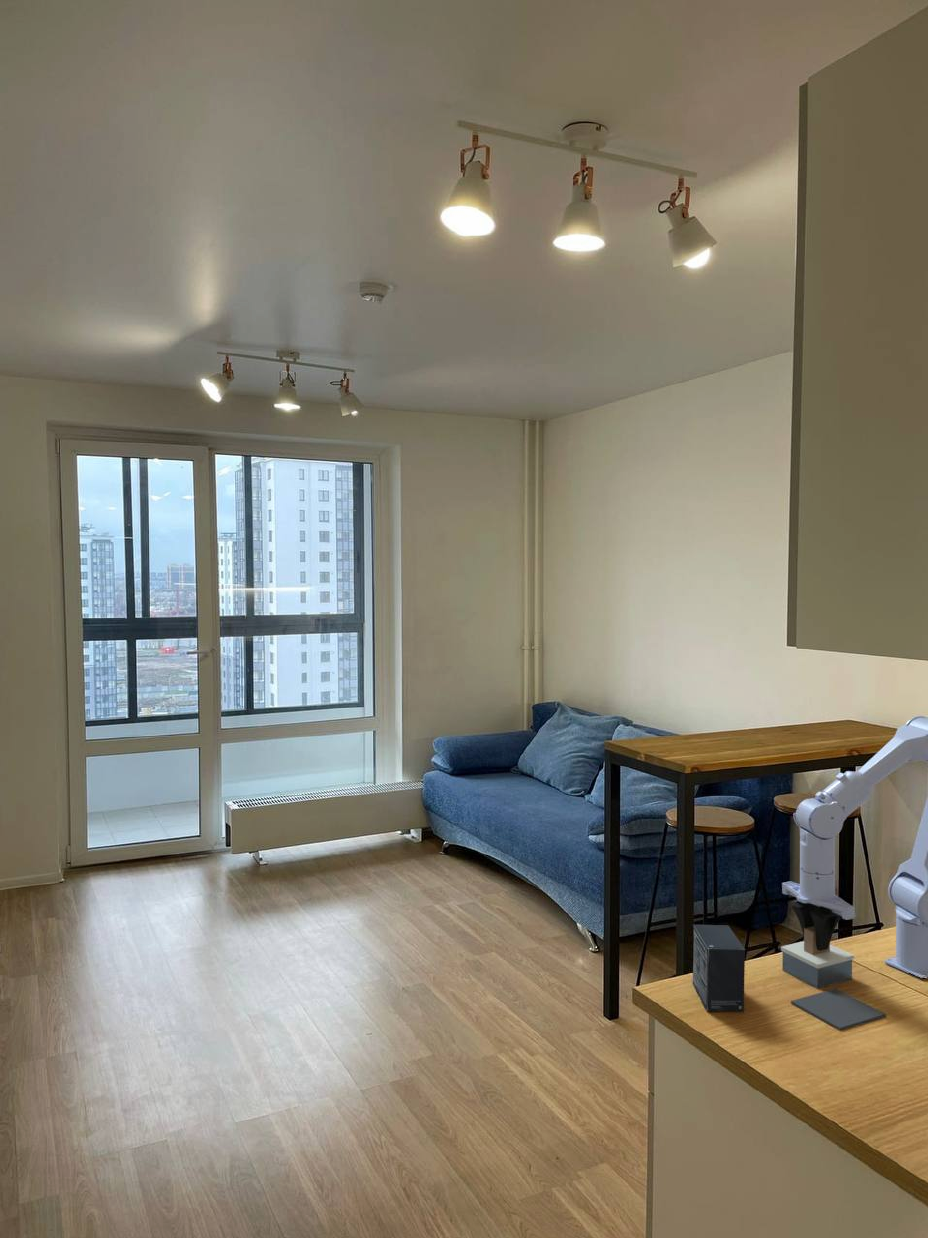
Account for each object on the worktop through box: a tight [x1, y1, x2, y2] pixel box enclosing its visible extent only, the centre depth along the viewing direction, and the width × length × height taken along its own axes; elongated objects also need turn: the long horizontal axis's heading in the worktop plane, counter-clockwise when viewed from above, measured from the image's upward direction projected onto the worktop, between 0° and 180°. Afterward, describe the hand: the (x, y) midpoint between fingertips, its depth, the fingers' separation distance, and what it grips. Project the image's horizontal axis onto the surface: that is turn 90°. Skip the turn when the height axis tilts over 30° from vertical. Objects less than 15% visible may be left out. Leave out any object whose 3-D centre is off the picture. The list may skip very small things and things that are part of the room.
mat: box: [790, 988, 887, 1031], centre depth 148 cm, size 10×10×1 cm
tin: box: [781, 951, 853, 989], centre depth 161 cm, size 8×8×4 cm
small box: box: [692, 924, 746, 1013], centre depth 152 cm, size 11×6×10 cm, turn 179°
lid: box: [780, 926, 855, 969], centre depth 160 cm, size 8×8×5 cm
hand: (816, 946), depth 160 cm, fingers closed on lid
